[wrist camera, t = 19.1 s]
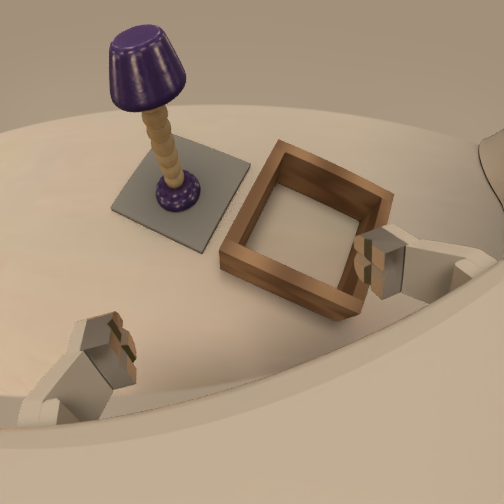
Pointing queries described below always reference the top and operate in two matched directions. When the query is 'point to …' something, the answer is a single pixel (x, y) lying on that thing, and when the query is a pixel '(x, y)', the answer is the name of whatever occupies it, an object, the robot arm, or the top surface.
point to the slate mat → (197, 216)
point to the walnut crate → (325, 191)
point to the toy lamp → (153, 103)
